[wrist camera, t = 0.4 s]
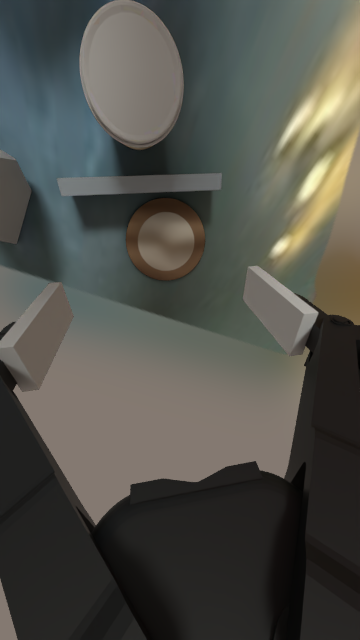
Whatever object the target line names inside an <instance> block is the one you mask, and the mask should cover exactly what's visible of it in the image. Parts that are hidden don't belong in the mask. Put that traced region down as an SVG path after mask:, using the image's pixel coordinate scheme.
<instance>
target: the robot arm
mask: <svg viewBox="0 0 360 640" xmlns="http://www.w3.org/2000/svg"><path fill="white" fill-rule="evenodd" d="M243 300H244V302H245V303H246V304H247V305H248V307H249V308H250V309H251V310H252V311H253V313H254V314H255V315H256V316H257V317H258V319H259V320H260V321H261V322H262V323H263V325H264V326H265V327H266V328H267V329H268V331H269V332H270V333H271V334H272V336H273V337H274V338H275V339H276V340H277V342H278V343H279V344H280V345H281V346H282V348H283V349H284V350H285V351H286V352H287V354H288V355H289V356H294V355H301V354H303V351H304V349H305V346H306V347H307V348H309V350H310V352H309V355H308V357H307V359H306V362H305V364H304V366H306V370H305V376H304V381H303V387H302V393H301V398H300V404H299V410H298V415H297V421H296V426H295V432H294V438H293V443H292V449H291V455H290V460H289V465H288V469H287V472H286V475H285V478H284V479H283V478H281V477H279V476H277V475H275V474H272V473H269V472H265V471H260V470H259V468H258V465H257V463H256V461H254V462H249V463H244V464H238V465H233V466H228V467H225V468H224V469H221V470H220V471H218V472H216V473H214V474H212V475H210V476H209V477H207V478H205V479H203V480H201V481H199V482H186V481H178V480H170V479H158V480H153V481H148V482H142V483H137V484H132V485H131V489H130V490H131V492H130V495H129V496H127V497H125V498H124V499H122V500H121V501H119V502H118V503H117V504H116V505H114V506H113V507H112V508H111V509H110V510H109V511H108V512H107V513H106V514H105V515H104V516H103V517H102V519H101V520H100V521H99V523H98V524H97V525H95V523H94V522H93V520H92V519H91V517H90V516H89V514H88V513H87V511H86V510H85V509H84V507H83V505H82V504H81V502H80V500H79V499H78V497H77V495H76V494H75V492H74V491H73V489H72V487H71V486H70V484H69V482H68V481H67V479H66V477H65V476H64V474H63V472H62V471H61V469H60V467H59V466H58V464H57V462H56V461H55V459H54V457H53V456H52V454H51V452H50V451H49V449H48V448H47V446H46V444H45V443H44V441H43V440H42V438H41V436H40V434H39V433H38V431H37V430H36V428H35V426H34V424H33V423H32V421H31V419H30V418H29V416H28V414H27V413H26V411H25V409H24V408H23V406H22V405H21V403H20V401H19V400H18V398H17V396H16V395H15V393H14V392H13V389H14V388H15V386H16V384H17V385H18V386H19V387H20V389H21V390H22V392H24V391H31V390H39V388H40V386H41V384H42V382H43V380H44V378H45V376H46V374H47V372H48V370H49V368H50V365H51V363H52V361H53V359H54V357H55V355H56V353H57V351H58V349H59V346H60V344H61V342H62V340H63V338H64V336H65V334H66V332H67V330H68V327H69V325H70V323H71V321H72V319H73V317H74V316H73V313H72V310H71V308H70V305H69V302H68V300H67V297H66V294H65V291H64V289H63V286H62V283H61V282H56V283H49V284H48V285H47V286H46V288H45V289H44V290H43V291H42V292H41V293H40V294H39V296H38V297H37V298H36V299H35V301H34V302H33V303H32V304H31V305H30V306H29V307H28V309H27V310H26V311H25V312H24V313H23V314H22V316H21V317H20V318H19V319H18V320H17V322H12V323H11V324H9V325H8V326H6V327H5V328H3V330H2V331H1V332H0V579H1V582H2V586H3V589H4V593H5V596H6V600H7V603H8V607H9V610H10V614H11V617H12V621H13V624H14V628H15V631H16V635H17V638H18V640H360V325H354V323H353V322H352V321H351V320H349V319H347V318H345V317H342V316H339V315H327V314H326V313H324V312H323V311H322V310H320V309H319V308H317V307H316V306H315V305H313V304H312V303H311V302H309V301H308V300H307V299H305V298H304V297H303V296H300V295H298V294H296V293H292V292H291V291H290V290H289V289H287V288H286V287H285V286H283V285H282V284H281V283H279V282H278V281H277V280H276V279H274V278H273V277H272V276H270V275H269V274H268V273H266V272H265V271H264V270H263V269H261V268H260V267H259V266H250V267H248V270H247V276H246V282H245V289H244V295H243Z"/></svg>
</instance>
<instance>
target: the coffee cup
mask: <svg viewBox="0 0 360 640" xmlns="http://www.w3.org/2000/svg"><path fill="white" fill-rule="evenodd" d="M80 76H81V82H82V87H83V91H84V94H85V97H86V100H87V103H88V105H89V107H90V109H91V111H92V113H93V115H94V117H95V118H96V120H97V121H98V123H99V124H100V125H101V127H102V128H103V129H104V130H105V131H106V132H107V133H108V134H109V135H110V136H111V137H113V138H114V139H115V140H117V141H118V142H120V143H122V144H124V145H125V146H127V147H129V148H132V149H135V150H144V149H147V148H150V147H151V146H153V145H155V144H157V143H158V142H160V141H161V140H162V139H164V138H165V137H166V136H167V135H168V134H169V132H170V131H171V130H172V128H173V126H174V125H175V123H176V121H177V119H178V116H179V113H180V110H181V106H182V100H183V91H184V80H183V70H182V64H181V59H180V56H179V52H178V49H177V47H176V44H175V42H174V40H173V37H172V36H171V34H170V32H169V30H168V29H167V27H166V26H165V24H164V23H163V22H162V21H161V19H160V18H159V17H158V16H157V15H156V14H155V13H154V12H153V11H151V10H150V9H149V8H147V7H146V6H144V5H142V4H140V3H138V2H135V1H131V0H115V1H112V2H109V3H107V4H106V5H104V6H103V7H101V8H100V9H99V10H98V11H97V12H96V13H95V14H94V15H93V17H92V18H91V19H90V21H89V23H88V25H87V27H86V30H85V32H84V35H83V39H82V43H81V48H80Z"/></svg>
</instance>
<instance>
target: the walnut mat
mask: <svg viewBox="0 0 360 640" xmlns="http://www.w3.org/2000/svg"><path fill="white" fill-rule="evenodd" d="M126 246H127V251H128V254H129V256H130V258H131V260H132V262H133V263H134V265H135V266H136V267H137V268H138V269H139V270H140V271H141V272H142V273H144V274H145V275H147V276H149V277H151V278H154V279H157V280H174V279H178V278H180V277H183V276H184V275H186V274H188V273H189V272H190V271H191V270H192V269H193V268H194V267H195V266H196V265H197V263H198V262H199V260H200V258H201V256H202V254H203V251H204V246H205V233H204V228H203V225H202V222H201V220H200V218H199V217H198V215H197V214H196V213H195V211H194V210H193V209H192V208H191V207H189V206H188V205H187V204H185V203H183V202H181V201H179V200H176V199H172V198H158V199H154V200H151V201H149V202H147V203H145V204H144V205H142V206H141V207H140V208H139V209H138V210H137V211H136V212H135V213H134V215H133V216H132V218H131V220H130V222H129V225H128V228H127V233H126Z"/></svg>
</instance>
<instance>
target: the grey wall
mask: <svg viewBox="0 0 360 640" xmlns="http://www.w3.org/2000/svg"><path fill="white" fill-rule="evenodd" d="M57 181H58V185H59V188H60V192H61V195H62V196H78V195H103V194H128V193H153V192H178V191H203V190H221V181H222V173H209V174H177V175H145V176H113V177H80V178H57Z"/></svg>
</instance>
